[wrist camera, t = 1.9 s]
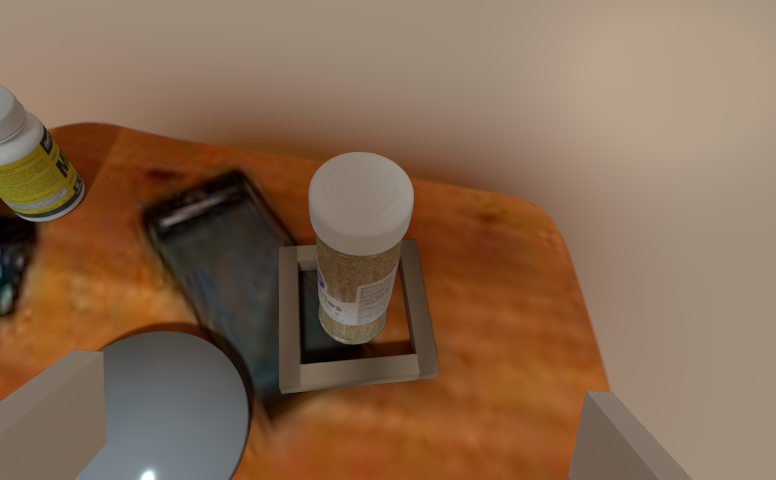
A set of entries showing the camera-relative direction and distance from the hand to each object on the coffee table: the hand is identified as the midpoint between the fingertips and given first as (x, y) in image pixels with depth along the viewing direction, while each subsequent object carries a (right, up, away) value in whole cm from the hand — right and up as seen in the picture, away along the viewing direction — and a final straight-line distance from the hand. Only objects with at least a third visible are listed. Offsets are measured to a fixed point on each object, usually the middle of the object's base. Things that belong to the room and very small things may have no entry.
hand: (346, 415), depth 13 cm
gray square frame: (-1, 0, +18) cm, 18 cm away
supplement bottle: (-23, +8, +21) cm, 32 cm away
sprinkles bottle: (-1, 0, +18) cm, 19 cm away
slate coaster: (-12, -6, +13) cm, 19 cm away
